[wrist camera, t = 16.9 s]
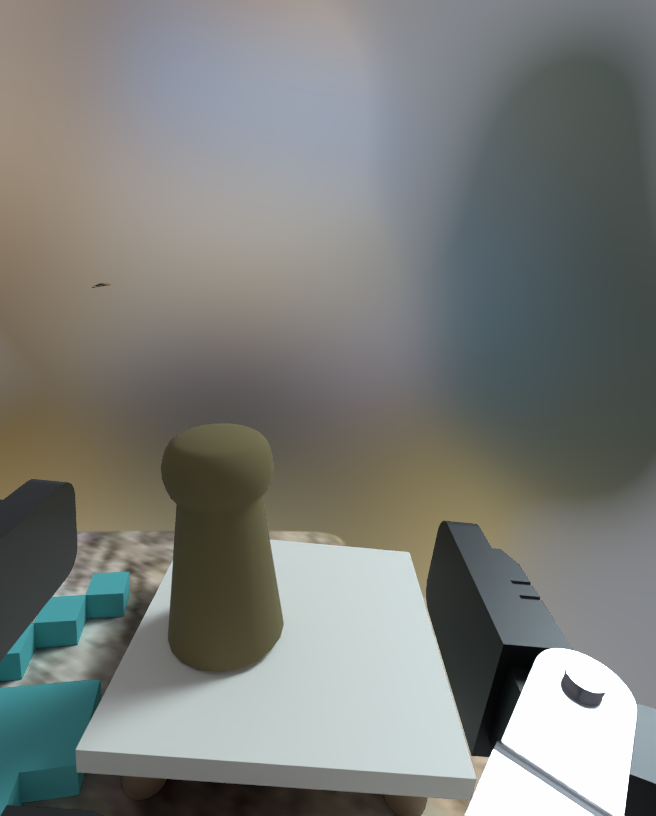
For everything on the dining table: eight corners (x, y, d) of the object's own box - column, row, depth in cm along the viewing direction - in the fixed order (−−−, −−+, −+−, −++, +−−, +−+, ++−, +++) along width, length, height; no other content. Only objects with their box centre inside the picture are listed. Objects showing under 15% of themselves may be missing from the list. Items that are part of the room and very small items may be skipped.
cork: (227, 692, 22) (215, 468, 18) (142, 636, 25) (119, 436, 22) (306, 615, 26) (307, 426, 23) (226, 575, 30) (217, 405, 26)
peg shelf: (79, 821, 20) (75, 749, 19) (186, 580, 35) (187, 532, 34) (458, 847, 21) (476, 778, 19) (401, 598, 36) (409, 552, 35)
